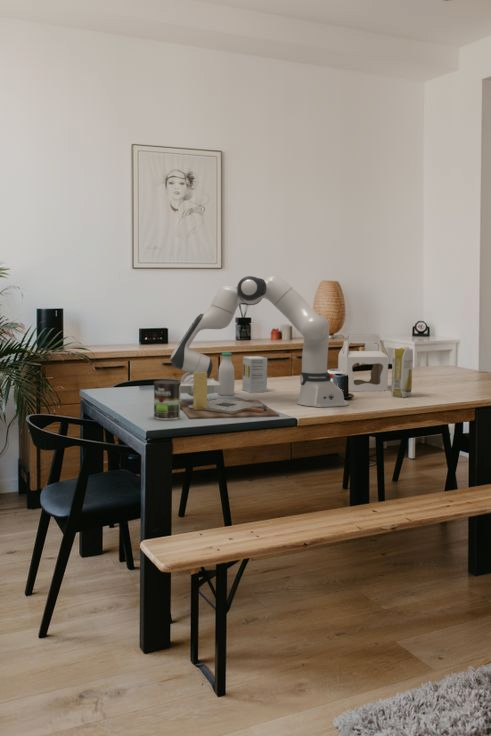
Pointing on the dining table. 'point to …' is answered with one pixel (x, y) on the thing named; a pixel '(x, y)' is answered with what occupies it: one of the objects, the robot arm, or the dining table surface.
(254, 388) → the supplement box
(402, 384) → the juice carton
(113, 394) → the dining table surface
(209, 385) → the robot arm
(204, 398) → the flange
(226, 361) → the milk bottle
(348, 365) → the gable box
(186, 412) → the base board
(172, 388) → the coffee can
